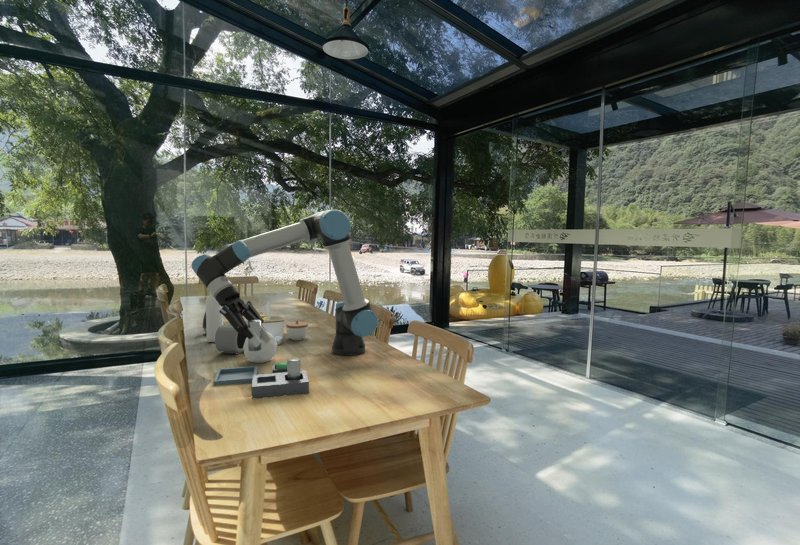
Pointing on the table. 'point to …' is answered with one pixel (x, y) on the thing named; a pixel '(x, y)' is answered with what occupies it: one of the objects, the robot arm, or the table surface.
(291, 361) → the cylinder
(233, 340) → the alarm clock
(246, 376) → the tray
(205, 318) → the pump dispenser
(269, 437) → the table surface
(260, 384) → the block
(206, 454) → the table surface
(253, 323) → the loose billet
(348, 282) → the robot arm
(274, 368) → the button housing
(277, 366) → the button
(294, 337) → the lidded jar
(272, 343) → the geodesic sphere
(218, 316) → the bottle
